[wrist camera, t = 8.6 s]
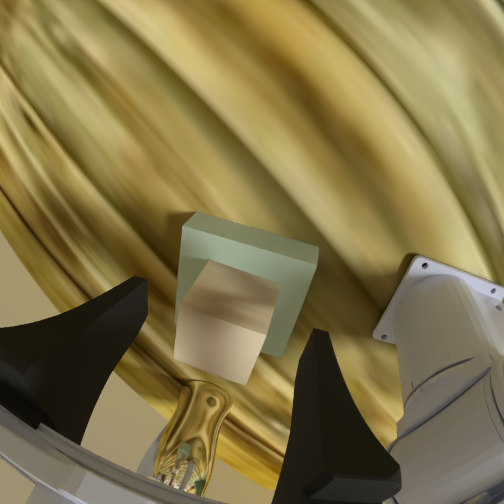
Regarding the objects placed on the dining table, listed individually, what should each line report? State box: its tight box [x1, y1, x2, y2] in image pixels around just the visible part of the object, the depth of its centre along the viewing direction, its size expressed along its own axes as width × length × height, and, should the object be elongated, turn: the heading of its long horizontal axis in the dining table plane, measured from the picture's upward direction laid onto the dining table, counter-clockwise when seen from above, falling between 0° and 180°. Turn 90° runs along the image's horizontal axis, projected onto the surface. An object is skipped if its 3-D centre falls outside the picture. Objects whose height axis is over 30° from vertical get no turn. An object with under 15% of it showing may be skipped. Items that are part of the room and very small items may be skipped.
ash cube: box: [173, 260, 281, 386], centre depth 20 cm, size 5×5×5 cm
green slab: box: [174, 212, 319, 358], centre depth 24 cm, size 9×9×3 cm
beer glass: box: [136, 381, 233, 497], centre depth 27 cm, size 7×7×15 cm
